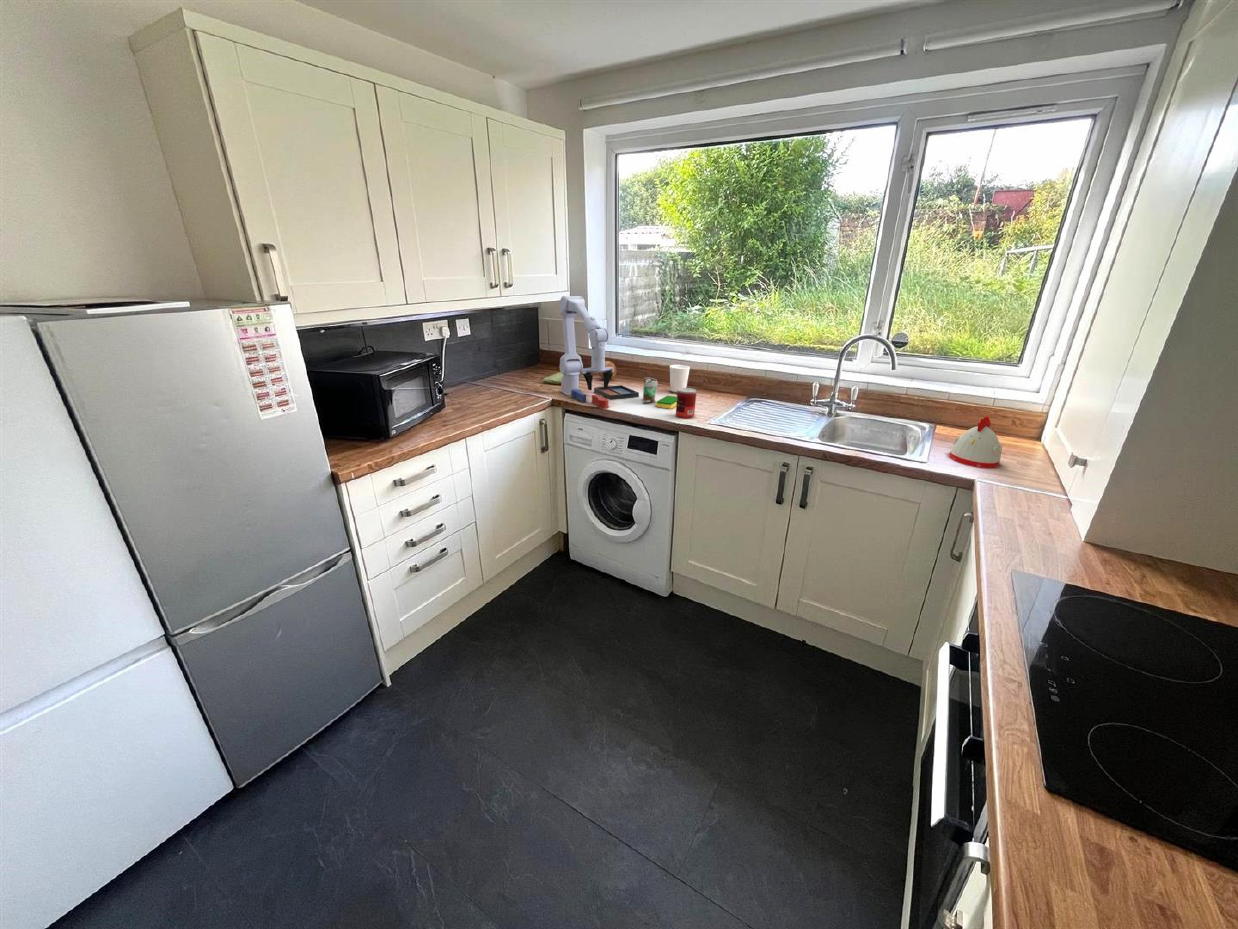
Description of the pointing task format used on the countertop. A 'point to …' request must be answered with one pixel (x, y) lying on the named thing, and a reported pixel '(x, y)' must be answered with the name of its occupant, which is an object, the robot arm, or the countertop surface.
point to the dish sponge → (667, 402)
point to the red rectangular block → (600, 401)
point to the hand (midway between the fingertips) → (597, 389)
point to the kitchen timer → (977, 447)
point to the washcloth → (553, 379)
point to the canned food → (685, 402)
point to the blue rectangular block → (578, 395)
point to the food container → (649, 390)
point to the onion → (608, 364)
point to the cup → (678, 377)
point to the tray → (616, 392)
